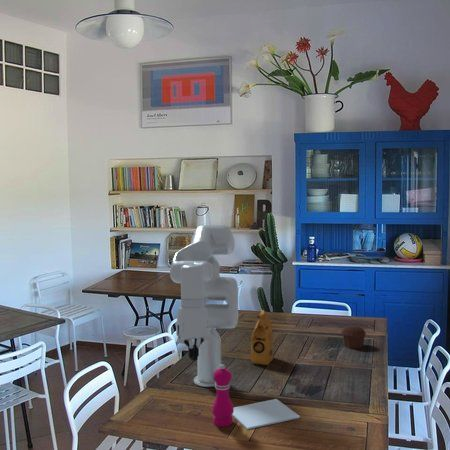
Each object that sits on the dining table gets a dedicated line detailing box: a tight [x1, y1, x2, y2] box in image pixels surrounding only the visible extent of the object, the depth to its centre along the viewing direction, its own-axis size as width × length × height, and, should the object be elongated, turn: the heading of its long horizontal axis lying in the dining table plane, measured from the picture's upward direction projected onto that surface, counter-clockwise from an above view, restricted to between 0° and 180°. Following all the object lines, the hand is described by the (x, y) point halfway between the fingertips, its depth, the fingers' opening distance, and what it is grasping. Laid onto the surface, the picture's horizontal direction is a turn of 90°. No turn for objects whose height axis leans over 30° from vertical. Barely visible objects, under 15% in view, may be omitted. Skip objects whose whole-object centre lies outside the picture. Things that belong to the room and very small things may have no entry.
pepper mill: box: [211, 363, 234, 428], centre depth 175 cm, size 7×7×20 cm
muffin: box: [340, 324, 366, 350], centre depth 256 cm, size 12×11×10 cm
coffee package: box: [250, 309, 274, 366], centre depth 236 cm, size 10×12×22 cm
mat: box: [231, 398, 301, 430], centre depth 182 cm, size 16×20×1 cm
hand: (193, 359), depth 169 cm, fingers closed
